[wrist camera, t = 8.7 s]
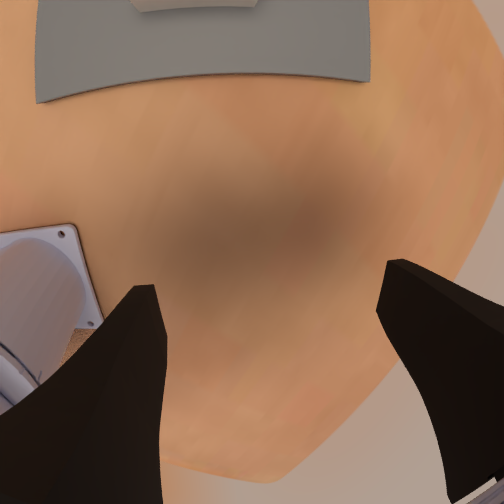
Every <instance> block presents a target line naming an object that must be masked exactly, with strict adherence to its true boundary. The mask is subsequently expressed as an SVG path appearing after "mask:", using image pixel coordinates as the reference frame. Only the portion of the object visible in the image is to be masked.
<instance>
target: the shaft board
mask: <svg viewBox="0 0 504 504" xmlns="http://www.w3.org/2000/svg"><path fill="white" fill-rule="evenodd" d="M224 74H274V75H296V76H310V77H321V78H331V79H340V80H348V81H355V82H370V18H369V0H258V1H257V3H256V5H255V7H234V6H216V7H190V8H176V9H165V10H156V11H148V12H141V13H140V12H139V11H138V10H137V8H136V7H135V6H134V5H133V4H132V3H131V1H130V0H39V1H38V11H37V22H36V38H35V91H36V104H39V103H46V102H49V101H52V100H56V99H60V98H63V97H67V96H71V95H75V94H79V93H84V92H88V91H93V90H97V89H102V88H107V87H113V86H118V85H124V84H130V83H136V82H143V81H151V80H159V79H167V78H177V77H189V76H203V75H224Z"/></svg>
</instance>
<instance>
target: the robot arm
mask: <svg viewBox="0 0 504 504" xmlns="http://www.w3.org/2000/svg"><path fill="white" fill-rule="evenodd" d="M60 231H63V232H64V234H65V236H63V235H62V234H61V233H60ZM376 312H377V314H378V317H379V319H380V322H381V324H382V326H383V329H384V331H385V333H386V335H387V337H388V339H389V340H390V342H391V344H392V345H393V347H394V349H395V350H396V352H397V354H398V355H399V357H400V359H401V360H402V362H403V364H404V365H405V367H406V368H407V370H408V372H409V374H410V376H411V377H412V379H413V381H414V382H415V384H416V386H417V388H418V390H419V392H420V394H421V396H422V399H423V401H424V404H425V406H426V408H427V411H428V414H429V416H430V419H431V422H432V425H433V428H434V431H435V434H436V437H437V441H438V445H439V449H440V453H441V457H442V461H443V466H444V472H445V479H446V487H447V495H448V498H449V500H450V502H451V504H454V503H455V502H457V501H459V500H460V499H462V498H464V497H465V496H467V495H468V494H470V493H471V492H473V491H475V490H476V489H478V488H479V487H480V486H482V485H483V484H485V483H486V482H488V481H489V480H491V479H492V478H493V477H495V479H496V481H497V483H496V484H494V485H493V486H492V487H490V488H489V489H487V490H486V491H485V492H483V493H482V494H480V495H479V496H477V497H476V498H474V499H473V500H472V501H470V502H468V503H467V504H504V306H501V305H499V304H496V303H494V302H492V301H489V300H487V299H485V298H483V297H481V296H479V295H477V294H475V293H473V292H471V291H469V290H467V289H465V288H463V287H461V286H459V285H457V284H455V283H453V282H451V281H449V280H447V279H445V278H443V277H442V276H440V275H438V274H436V273H434V272H432V271H430V270H428V269H426V268H424V267H422V266H419V265H417V264H415V263H413V262H410V261H408V260H405V259H396V260H388V261H387V265H386V270H385V274H384V279H383V283H382V288H381V292H380V296H379V300H378V304H377V308H376ZM90 321H91V322H93V323H91V322H90ZM74 329H97V330H96V331H95V332H94V333H93V334H92V335H91V336H90V337H89V338H88V339H87V340H86V341H85V342H84V344H83V345H82V346H81V347H80V348H79V349H78V350H77V351H76V352H75V353H74V354H73V355H72V356H71V357H70V358H69V359H68V360H67V361H66V362H65V363H64V364H63V365H62V366H61V367H60V364H61V361H62V359H63V356H64V354H65V351H66V349H67V346H68V344H69V341H70V339H71V337H72V334H73V332H74ZM59 367H60V368H59ZM166 369H167V333H166V330H165V326H164V322H163V319H162V315H161V311H160V307H159V303H158V299H157V295H156V291H155V287H154V284H151V285H138V286H134V287H133V288H132V289H131V290H130V291H129V292H128V293H127V294H126V295H125V297H124V298H123V299H122V300H121V301H120V303H119V304H118V305H117V306H116V307H115V308H114V310H113V311H112V312H111V313H110V314H109V315H108V317H107V318H106V319H105V320H104V319H103V317H102V314H101V311H100V308H99V305H98V302H97V299H96V296H95V293H94V290H93V287H92V284H91V281H90V277H89V274H88V271H87V267H86V264H85V260H84V257H83V253H82V249H81V245H80V242H79V238H78V234H77V230H76V228H75V227H74V226H73V225H71V224H64V225H56V226H48V227H40V228H33V229H25V230H18V231H11V232H5V233H0V504H163V498H162V488H161V478H160V457H159V431H160V420H161V411H162V402H163V394H164V385H165V377H166Z"/></svg>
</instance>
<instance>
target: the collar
mask: <svg viewBox="0 0 504 504" xmlns="http://www.w3.org/2000/svg"><path fill="white" fill-rule="evenodd" d="M130 1H131V3H132V4H133V5H134V6H135V7H136V8H137V10H138V11H139V12H140V13H141V12H148V11H156V10H165V9H176V8H190V7H216V6H234V7H255V5H256V3H257V1H258V0H130Z"/></svg>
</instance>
